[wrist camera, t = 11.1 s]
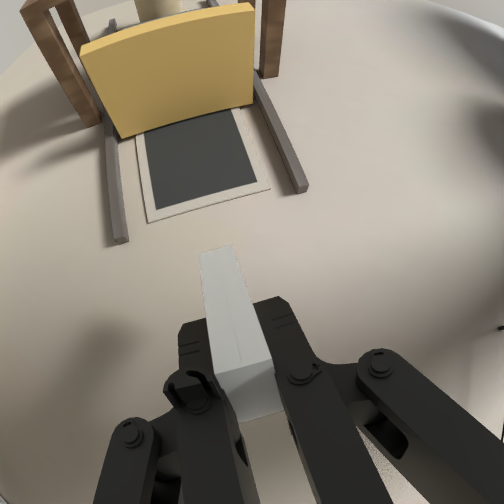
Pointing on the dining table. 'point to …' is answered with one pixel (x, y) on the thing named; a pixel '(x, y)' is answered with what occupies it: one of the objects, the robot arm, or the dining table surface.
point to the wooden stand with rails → (83, 102)
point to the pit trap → (198, 163)
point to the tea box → (2, 501)
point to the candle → (157, 8)
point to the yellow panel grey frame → (174, 67)
